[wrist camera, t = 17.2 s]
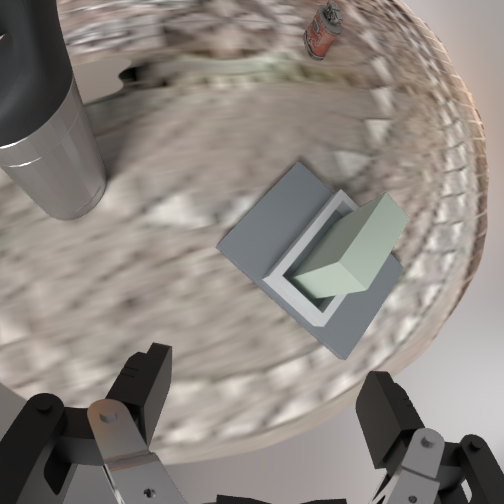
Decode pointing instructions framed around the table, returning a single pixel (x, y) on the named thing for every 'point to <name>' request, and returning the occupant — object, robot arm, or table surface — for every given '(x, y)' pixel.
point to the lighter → (323, 30)
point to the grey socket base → (296, 251)
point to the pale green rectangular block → (352, 250)
